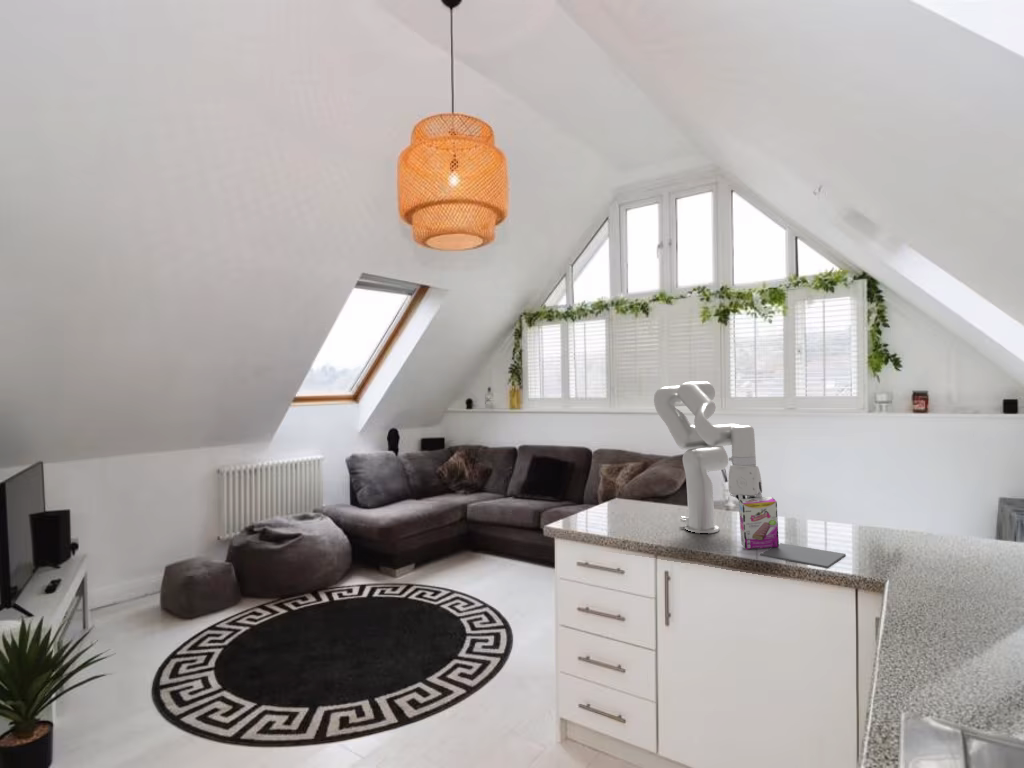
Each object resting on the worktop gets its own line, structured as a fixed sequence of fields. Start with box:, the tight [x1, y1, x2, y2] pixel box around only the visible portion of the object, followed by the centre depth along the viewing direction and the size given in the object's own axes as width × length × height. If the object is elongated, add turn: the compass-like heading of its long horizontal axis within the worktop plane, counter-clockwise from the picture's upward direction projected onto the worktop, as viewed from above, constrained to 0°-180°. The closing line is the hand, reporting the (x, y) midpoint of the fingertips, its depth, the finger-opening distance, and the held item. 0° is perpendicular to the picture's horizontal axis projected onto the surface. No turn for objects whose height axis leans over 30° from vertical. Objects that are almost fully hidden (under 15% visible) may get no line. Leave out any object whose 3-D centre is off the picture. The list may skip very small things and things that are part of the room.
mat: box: [759, 542, 846, 569], centre depth 180 cm, size 20×16×1 cm
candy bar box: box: [738, 496, 780, 551], centre depth 189 cm, size 11×5×16 cm, turn 84°
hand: (747, 514), depth 193 cm, fingers closed
